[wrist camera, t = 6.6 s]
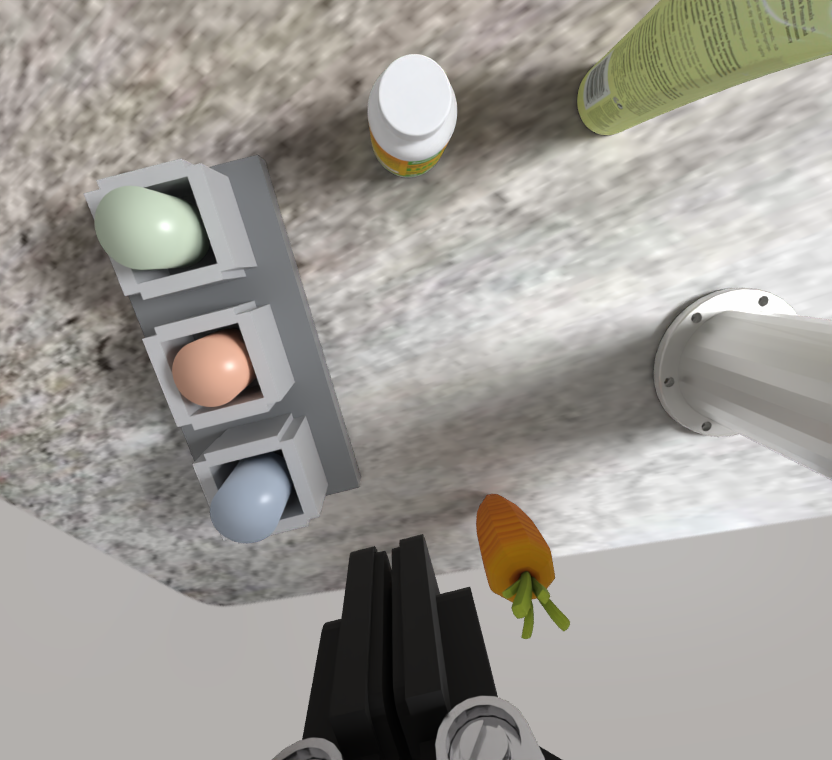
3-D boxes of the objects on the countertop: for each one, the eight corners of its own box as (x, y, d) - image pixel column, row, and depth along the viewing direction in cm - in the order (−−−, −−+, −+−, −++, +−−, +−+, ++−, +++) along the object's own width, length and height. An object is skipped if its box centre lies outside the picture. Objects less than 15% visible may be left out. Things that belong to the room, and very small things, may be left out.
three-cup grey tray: (264, 160, 35) (234, 136, 28) (360, 476, 41) (355, 519, 35) (106, 201, 35) (37, 187, 28) (226, 510, 41) (195, 559, 35)
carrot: (527, 502, 43) (598, 627, 28) (481, 532, 43) (528, 669, 29) (498, 461, 42) (556, 569, 27) (451, 492, 42) (484, 614, 28)
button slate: (283, 444, 35) (267, 474, 30) (301, 496, 36) (288, 534, 31) (225, 459, 35) (199, 491, 30) (245, 511, 36) (223, 550, 31)
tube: (660, 84, 35) (980, -119, 16) (627, 153, 36) (889, 38, 17) (594, 48, 34) (849, -213, 15) (561, 119, 35) (762, -42, 16)
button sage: (196, 189, 30) (160, 176, 26) (220, 258, 32) (189, 258, 27) (129, 206, 30) (81, 197, 26) (156, 275, 32) (113, 278, 27)
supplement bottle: (405, 194, 36) (412, 172, 26) (355, 136, 35) (343, 90, 25) (459, 142, 35) (485, 100, 26) (410, 80, 34) (418, 13, 25)
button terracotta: (251, 321, 35) (229, 332, 30) (270, 378, 36) (252, 397, 31) (193, 336, 35) (161, 349, 30) (214, 393, 36) (187, 414, 31)
